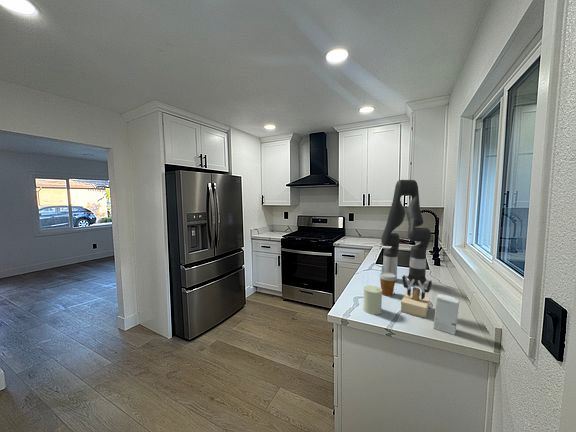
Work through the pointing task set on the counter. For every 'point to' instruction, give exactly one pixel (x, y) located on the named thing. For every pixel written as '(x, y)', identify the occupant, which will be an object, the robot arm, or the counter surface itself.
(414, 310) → the tan shallow open box
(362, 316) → the counter surface
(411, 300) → the lid
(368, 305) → the can
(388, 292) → the disposable coffee cup
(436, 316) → the skincare box
